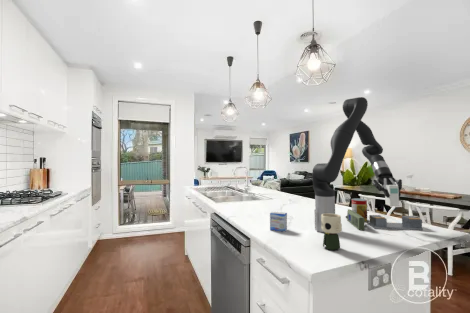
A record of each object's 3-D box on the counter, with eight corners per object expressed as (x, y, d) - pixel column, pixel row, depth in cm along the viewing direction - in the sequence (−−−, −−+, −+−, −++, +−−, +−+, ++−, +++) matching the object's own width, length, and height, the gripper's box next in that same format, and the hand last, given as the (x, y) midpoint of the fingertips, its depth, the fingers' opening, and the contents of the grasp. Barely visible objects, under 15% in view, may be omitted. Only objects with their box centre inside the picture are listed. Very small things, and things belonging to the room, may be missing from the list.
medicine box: (269, 230, 117) (269, 213, 117) (271, 228, 121) (271, 211, 121) (285, 232, 114) (285, 214, 114) (287, 229, 118) (286, 212, 118)
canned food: (370, 221, 133) (370, 200, 133) (358, 222, 131) (358, 200, 131) (360, 218, 140) (359, 198, 141) (349, 219, 138) (348, 198, 139)
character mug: (315, 244, 96) (314, 213, 96) (329, 242, 98) (328, 211, 98) (333, 254, 85) (333, 219, 86) (349, 252, 87) (348, 217, 88)
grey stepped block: (374, 228, 118) (374, 218, 118) (367, 223, 127) (367, 214, 127) (422, 230, 114) (422, 219, 115) (412, 225, 123) (411, 215, 124)
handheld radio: (357, 230, 116) (343, 218, 140) (365, 231, 115) (349, 219, 140) (358, 217, 116) (343, 207, 140) (365, 217, 115) (349, 207, 140)
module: (390, 206, 115) (389, 185, 115) (385, 204, 120) (384, 184, 120) (399, 206, 114) (398, 185, 114) (394, 204, 119) (393, 184, 119)
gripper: (369, 166, 126) (380, 192, 114) (398, 166, 124) (412, 192, 112) (366, 175, 131) (376, 201, 119) (393, 175, 129) (406, 201, 117)
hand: (393, 196), depth 115 cm, fingers closed on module, 4 cm apart
